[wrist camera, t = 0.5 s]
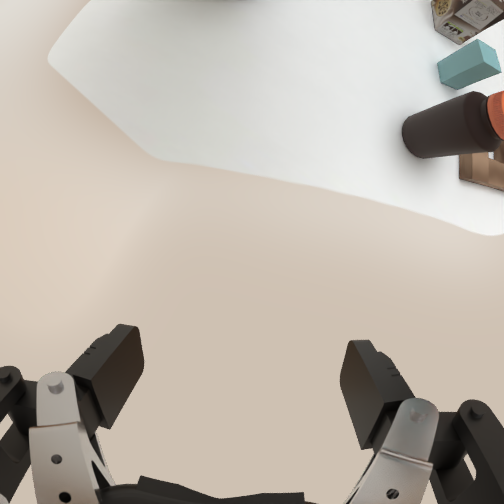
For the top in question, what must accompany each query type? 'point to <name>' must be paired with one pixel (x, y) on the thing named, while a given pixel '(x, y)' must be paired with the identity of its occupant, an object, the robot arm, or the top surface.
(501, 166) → the socket block
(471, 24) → the coffee box
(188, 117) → the top surface
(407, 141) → the bottle
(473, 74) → the peg
